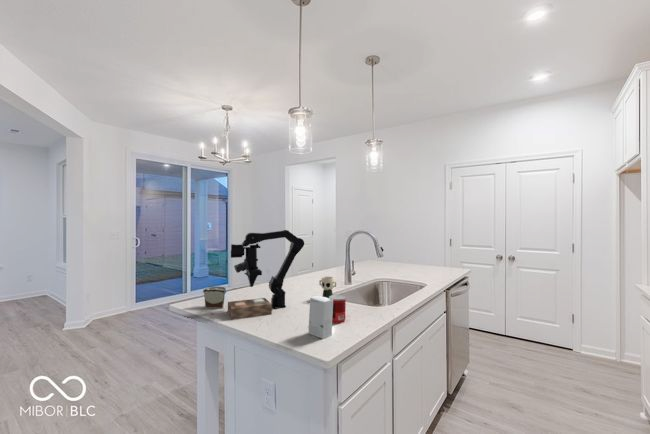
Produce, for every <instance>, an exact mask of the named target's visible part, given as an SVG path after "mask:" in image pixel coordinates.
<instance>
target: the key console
mask: <svg viewBox="0 0 650 434" xmlns="http://www.w3.org/2000/svg"><path fill="white" fill-rule="evenodd" d="M253 299H254V298H253ZM253 299H252V298H251V299H243V300H232V301H227V313H228V315H229V317H230V319H231V320H240V319H246V318H247V319H248V318H254V317H256V318H257V317H260V316H261V317H262V316H269V315H272V311H273V309H272V308H273V307H272V304H271V302H270V301H269V300H268V299H267V298H266V297H261V298H258V299H263V300H264V301H265V303H259V304H254V303H253V302H252V300H253ZM240 302H245V303H246V305H242V306H235V305H234V303H240Z"/></svg>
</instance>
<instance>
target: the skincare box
mask: <svg viewBox="0 0 650 434" xmlns="http://www.w3.org/2000/svg"><path fill="white" fill-rule="evenodd" d="M322 296H323V295H322ZM322 296H321V295H316V296H315V295H314V296H311V297H309V312H308V334H309V335H312V336H314V337H318V338H319V339H322V340H323V339H325V338H329V337H330V336H332V335H333V334H332V332H333V323H332V316H333V299H329V298H327V297H322Z"/></svg>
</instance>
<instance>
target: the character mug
mask: <svg viewBox="0 0 650 434" xmlns="http://www.w3.org/2000/svg"><path fill="white" fill-rule="evenodd" d="M318 282H319V286H321V288H322V289H323V290H322V291H323V292H322V297H327V298H329V296H332V295H334V294H333V289H334V288H336V287H337V281H335V277H333V276H322V277H321V279H320V280H319V281H318Z"/></svg>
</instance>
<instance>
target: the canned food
mask: <svg viewBox="0 0 650 434" xmlns="http://www.w3.org/2000/svg"><path fill="white" fill-rule="evenodd" d="M329 299H333V316H332V324H343V323H345V321H346V305H347V304H346V296H345V295H341V294H333V295H332V296H329Z"/></svg>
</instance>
